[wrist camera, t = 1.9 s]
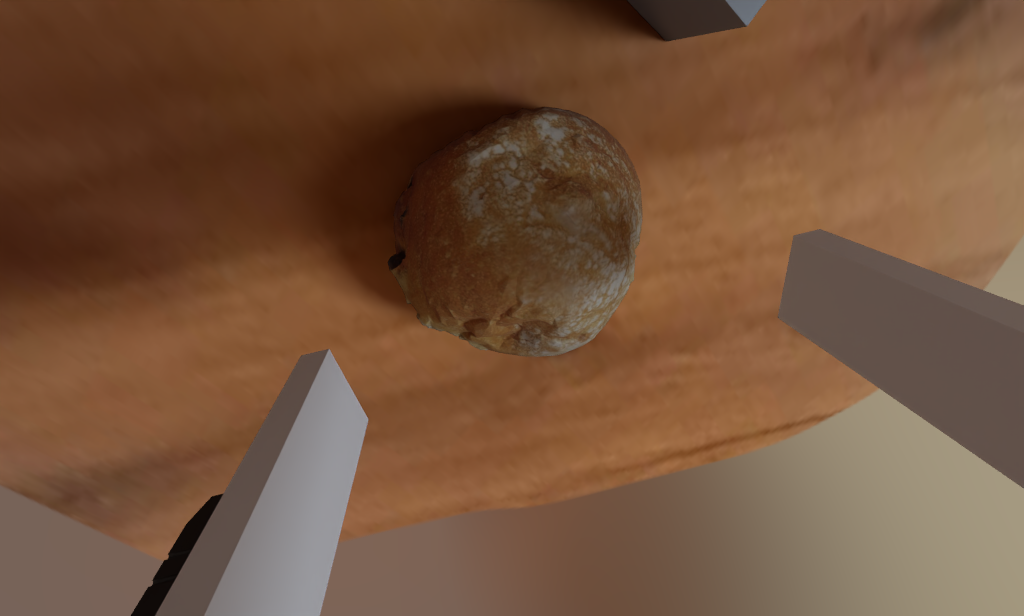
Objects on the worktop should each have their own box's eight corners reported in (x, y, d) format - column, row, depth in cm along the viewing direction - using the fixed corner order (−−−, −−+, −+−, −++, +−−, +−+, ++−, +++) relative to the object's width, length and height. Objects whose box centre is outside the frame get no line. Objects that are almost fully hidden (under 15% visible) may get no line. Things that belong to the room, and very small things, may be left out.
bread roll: (568, 277, 23) (686, 329, 17) (414, 356, 19) (499, 462, 13) (548, 93, 18) (707, 76, 12) (330, 148, 14) (407, 164, 8)
